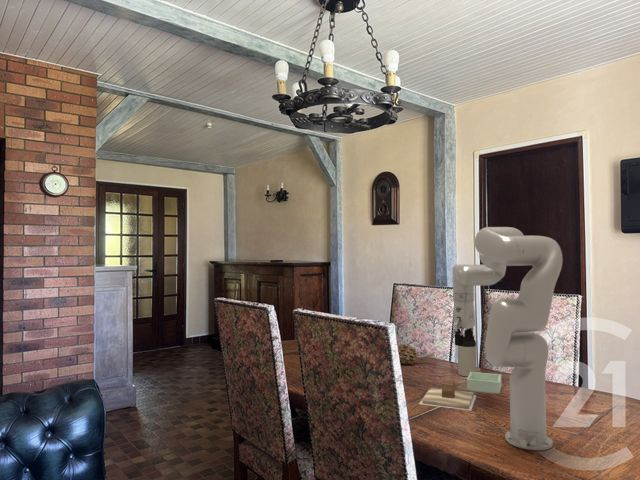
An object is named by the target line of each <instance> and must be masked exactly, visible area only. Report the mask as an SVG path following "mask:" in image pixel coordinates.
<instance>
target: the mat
mask: <svg viewBox="0 0 640 480" xmlns="http://www.w3.org/2000/svg"><path fill="white" fill-rule="evenodd" d="M429 390H430V389H428V391H429ZM428 391H427V392H426V393H425V395H424V396H423V398H424V397H425V396H426V394H427V393H428ZM423 398H422V399H421V401H420V402H419V403H418V404H419V405H423V406H429V407H430V406H431V407H439V408H447V409H455V410H463V411H470V412H471V411H472V409H473V407H474V404H475V401H476V398H477V395H475V394H473V398H472V401H471V404H470V406H469V409H462V408H454V407H446V406H438V405H430V404H422V400H423Z"/></svg>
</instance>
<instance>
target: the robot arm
mask: <svg viewBox="0 0 640 480" xmlns="http://www.w3.org/2000/svg"><path fill="white" fill-rule="evenodd" d="M474 246H475V247H474V248H475V249H476V251H477V252H478V254H479V255H478V256H479V260H480V262H481V263H482V264H455V265H453V267H452V302H454V305H453V306H454V307H453V332H454V333H453V334H454V345H455V346H464V339H465V341H471V342H472V341H473V334H474V327H475V326H476V314H475V305H474V302H475V287H478V286H493V285H495V284H497V283H498V282H500V281H501V280H502V279H503V278H505V275H506V271H507V267H513V266H517V267H518V266H519V267H520V266H532V268H531V269H530V270H529V271H528V272H527V273H526V275H524V277H523V279H522V281H521V283H520V288H519V293H518V296H517V297H516V298H502V299H499V300H497V301H496V302H494V303H493V304H492V306H491V308H490V310H489V316H488V322H487V329H486V335H485V343H484V354H485V357H486V360H487V361H488V363H489V364H490V365H491V366H493V367H496V368H512V367H513V369H512V371H511V374H510V376H509V415H510V416H509V417H510V422H509V423H510V424H509V425H510V430H508V431H506V432H505V435H504V436H505V437H504V438H505V440H506V442H507V443H508V444H510V445H512V446H514V447H516V448H519V449H523V450H528V451H546V450H547V451H548V450H549V449H551V448H552V447H553V445H554V443H553V442H554V441H553V439H552V438H551V437H550V436H549V435H547V406H546V403H547V402H546V399H547V398H546V371H547V362H548V358H549V345H548V342H547V340H546V339H545V337H544V336H542V335H540V334H539V333H535V332H540V331H543V330H545V328H547V325H548V322H549V318H550V312H551V307H552V303H553V302H552V301H553V299H554V292H555V287H556V284H557V281H558V278H559V276H560V273H561V271H562V267H563V252H562V250H561V249H562V248H561V246H560V245H559V243H558V242H557V241H556V240H555V239H553V238H551V237H548V236H542V235H524V233H523V232H522V231H521V230H519V229H517V228H515V227H509V226H486V227H483V228H481V229H479V230H478V232H477V233H476V235H475V236H474ZM463 333H464V335H463Z"/></svg>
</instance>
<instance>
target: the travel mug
mask: <svg viewBox="0 0 640 480" xmlns="http://www.w3.org/2000/svg"><path fill="white" fill-rule="evenodd" d="M463 335H464V332H463ZM475 336H476V334H474V333H473V341H472V342H471V341H465V339H464V346H457V345H456V346H457V348H456V350H457V374H458V375H459V376H462V377H466V378H468V376H469V374H470V372H478V371H477V342H476V340H475Z"/></svg>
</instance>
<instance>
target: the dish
mask: <svg viewBox="0 0 640 480" xmlns="http://www.w3.org/2000/svg"><path fill="white" fill-rule="evenodd" d="M466 390H467V391H466V392H479V393H485V394H486V393H487V394H495V395H500V394H501V391H502V374H499V373H488V372H487V373H486V372H480V371H479V372H478V371H477V372H470V374H469V376H468V377H466Z"/></svg>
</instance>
